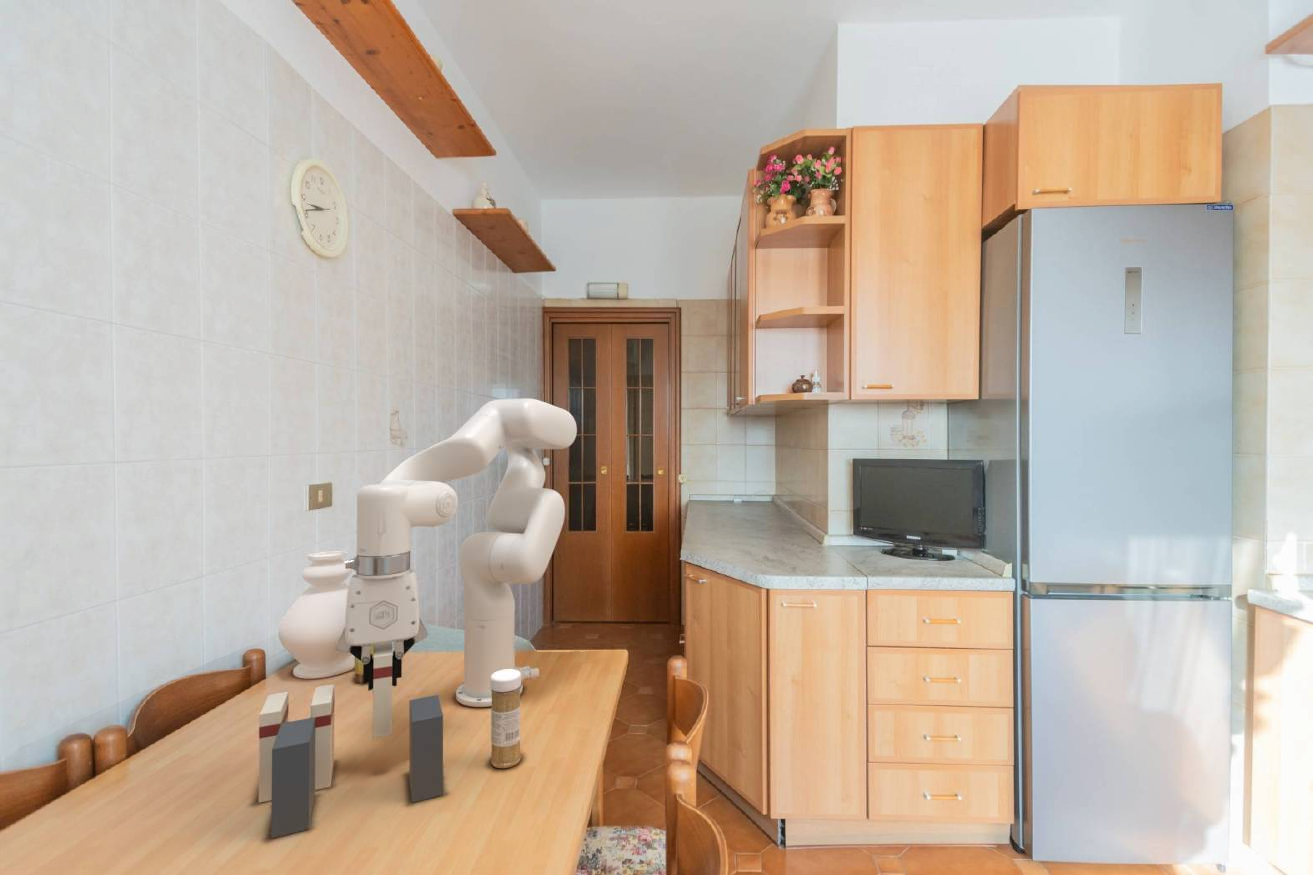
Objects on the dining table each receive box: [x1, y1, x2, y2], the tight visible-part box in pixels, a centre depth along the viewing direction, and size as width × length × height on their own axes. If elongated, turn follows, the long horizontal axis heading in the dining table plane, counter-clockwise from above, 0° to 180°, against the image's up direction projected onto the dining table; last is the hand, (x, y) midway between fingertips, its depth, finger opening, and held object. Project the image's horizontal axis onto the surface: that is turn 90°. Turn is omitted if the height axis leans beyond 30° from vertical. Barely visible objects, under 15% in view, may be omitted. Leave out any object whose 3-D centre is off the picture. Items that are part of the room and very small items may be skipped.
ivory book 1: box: [258, 691, 289, 804], centre depth 81 cm, size 2×7×12 cm, turn 26°
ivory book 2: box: [310, 683, 336, 791], centre depth 84 cm, size 2×7×12 cm, turn 26°
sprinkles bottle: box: [490, 669, 522, 769], centre depth 87 cm, size 5×5×14 cm
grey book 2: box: [408, 694, 444, 804], centre depth 82 cm, size 4×8×11 cm, turn 26°
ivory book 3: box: [372, 641, 393, 740], centre depth 87 cm, size 2×7×12 cm, turn 26°
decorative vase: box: [278, 550, 355, 680], centre depth 126 cm, size 18×18×25 cm
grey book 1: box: [270, 717, 316, 840], centre depth 75 cm, size 4×8×11 cm, turn 26°
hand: (382, 683), depth 87 cm, fingers closed on ivory book 3, 2 cm apart
